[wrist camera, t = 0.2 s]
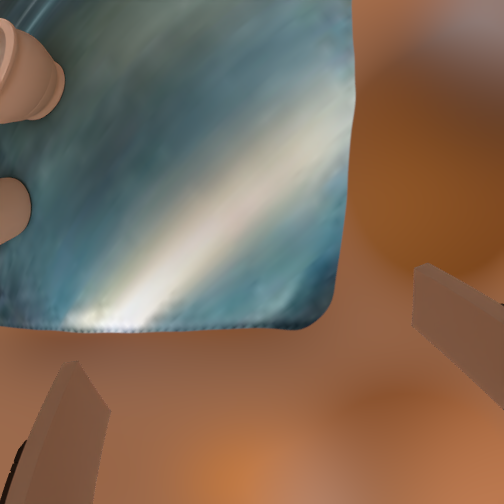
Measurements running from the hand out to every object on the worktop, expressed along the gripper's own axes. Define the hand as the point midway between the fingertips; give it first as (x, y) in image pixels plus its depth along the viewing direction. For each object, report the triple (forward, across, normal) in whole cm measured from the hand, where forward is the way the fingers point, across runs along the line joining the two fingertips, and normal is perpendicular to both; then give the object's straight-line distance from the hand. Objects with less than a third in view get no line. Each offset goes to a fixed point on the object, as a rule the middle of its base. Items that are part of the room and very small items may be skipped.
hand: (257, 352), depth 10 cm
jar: (+28, -19, +23) cm, 41 cm away
